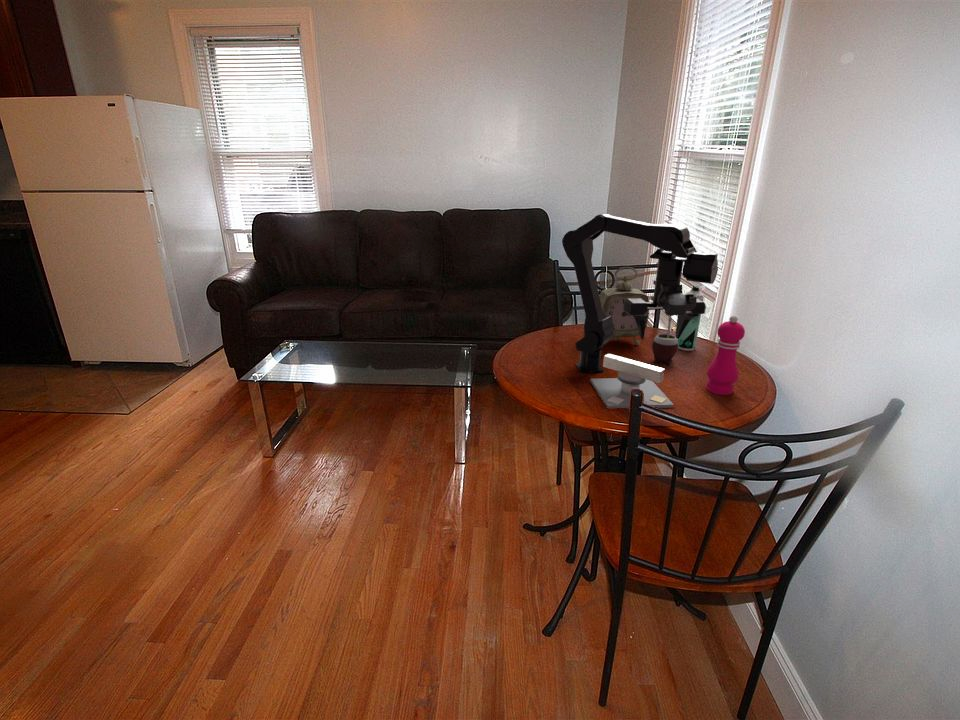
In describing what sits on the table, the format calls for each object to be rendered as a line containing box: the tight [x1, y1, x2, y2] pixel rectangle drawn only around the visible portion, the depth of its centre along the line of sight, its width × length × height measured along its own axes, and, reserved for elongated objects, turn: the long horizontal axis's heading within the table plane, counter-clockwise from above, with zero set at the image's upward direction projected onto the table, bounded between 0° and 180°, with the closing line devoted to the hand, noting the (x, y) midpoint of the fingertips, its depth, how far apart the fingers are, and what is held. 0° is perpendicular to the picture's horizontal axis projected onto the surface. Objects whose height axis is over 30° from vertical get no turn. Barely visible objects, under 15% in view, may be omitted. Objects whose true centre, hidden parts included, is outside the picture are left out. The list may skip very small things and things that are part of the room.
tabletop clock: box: [599, 266, 650, 346], centre depth 155 cm, size 14×9×25 cm, turn 91°
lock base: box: [590, 377, 674, 410], centre depth 123 cm, size 16×16×4 cm
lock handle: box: [602, 353, 665, 385], centre depth 122 cm, size 15×8×5 cm, turn 47°
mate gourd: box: [651, 316, 679, 367], centre depth 141 cm, size 8×8×15 cm
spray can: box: [677, 285, 705, 352], centre depth 151 cm, size 6×6×20 cm
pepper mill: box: [706, 315, 746, 396], centre depth 122 cm, size 7×7×20 cm
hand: (659, 338), depth 124 cm, fingers open, 9 cm apart
